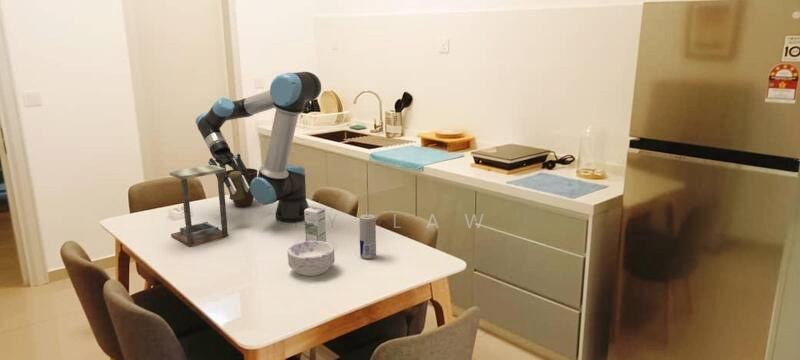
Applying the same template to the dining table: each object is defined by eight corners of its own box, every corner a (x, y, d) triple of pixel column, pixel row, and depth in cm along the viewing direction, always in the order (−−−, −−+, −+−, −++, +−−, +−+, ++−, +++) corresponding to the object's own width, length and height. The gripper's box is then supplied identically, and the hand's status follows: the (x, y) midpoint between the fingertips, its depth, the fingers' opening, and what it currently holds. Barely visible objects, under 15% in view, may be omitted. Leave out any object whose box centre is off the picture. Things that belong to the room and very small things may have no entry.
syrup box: (327, 244, 207) (325, 207, 204) (318, 249, 202) (316, 211, 198) (314, 241, 210) (312, 205, 206) (305, 247, 204) (303, 209, 201)
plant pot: (220, 208, 251) (217, 174, 247) (235, 199, 266) (232, 167, 262) (251, 210, 249) (249, 176, 245) (264, 201, 263) (262, 168, 259)
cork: (242, 199, 221) (240, 173, 219) (227, 200, 221) (225, 173, 219) (246, 195, 227) (244, 169, 224) (232, 196, 227) (229, 170, 225)
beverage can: (378, 254, 197) (377, 214, 193) (372, 260, 192) (371, 219, 188) (363, 252, 199) (363, 213, 195) (357, 258, 193) (356, 217, 190)
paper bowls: (314, 284, 173) (313, 260, 171) (279, 273, 181) (277, 251, 179) (344, 267, 186) (343, 245, 184) (309, 258, 194) (308, 237, 192)
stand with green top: (210, 226, 227) (205, 162, 220) (230, 236, 216) (225, 168, 209) (169, 237, 215) (162, 169, 209) (188, 247, 204) (181, 176, 197)
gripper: (235, 148, 237) (258, 192, 229) (194, 154, 224) (217, 201, 217) (240, 137, 232) (264, 181, 225) (199, 143, 219) (222, 190, 212)
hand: (241, 191), depth 221 cm, fingers closed on cork, 5 cm apart
